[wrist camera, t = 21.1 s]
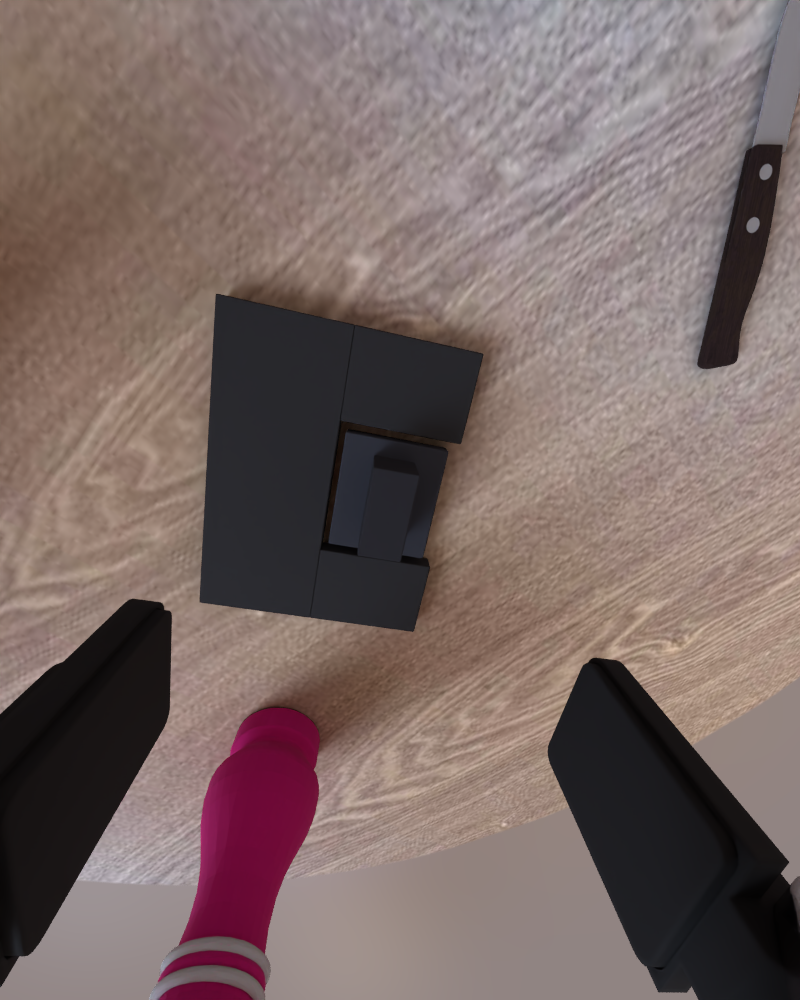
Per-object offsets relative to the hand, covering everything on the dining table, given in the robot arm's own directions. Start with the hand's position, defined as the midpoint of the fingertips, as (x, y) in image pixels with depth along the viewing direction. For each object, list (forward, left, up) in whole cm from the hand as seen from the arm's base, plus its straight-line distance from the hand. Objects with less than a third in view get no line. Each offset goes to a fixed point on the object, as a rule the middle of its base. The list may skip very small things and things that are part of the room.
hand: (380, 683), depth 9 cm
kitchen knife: (-20, +17, -16) cm, 31 cm away
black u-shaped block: (0, -3, -16) cm, 16 cm away
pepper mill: (+21, -4, -16) cm, 27 cm away
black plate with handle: (0, +1, -16) cm, 16 cm away
